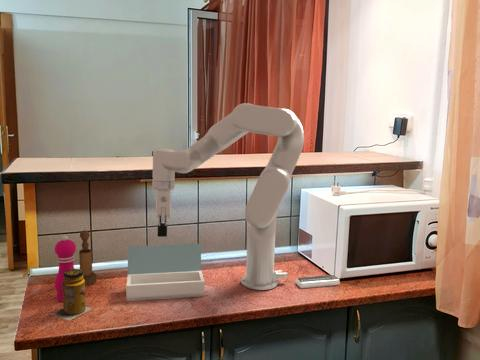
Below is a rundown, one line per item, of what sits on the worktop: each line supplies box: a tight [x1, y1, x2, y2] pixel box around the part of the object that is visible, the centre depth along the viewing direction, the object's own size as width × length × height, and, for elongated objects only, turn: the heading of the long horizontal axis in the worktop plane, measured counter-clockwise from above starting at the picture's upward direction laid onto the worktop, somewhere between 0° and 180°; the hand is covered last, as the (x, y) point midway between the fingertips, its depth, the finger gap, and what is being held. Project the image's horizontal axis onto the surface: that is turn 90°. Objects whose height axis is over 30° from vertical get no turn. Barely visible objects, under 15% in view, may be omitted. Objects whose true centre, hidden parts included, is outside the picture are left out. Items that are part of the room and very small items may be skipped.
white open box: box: [125, 270, 206, 302], centre depth 136 cm, size 24×9×5 cm, turn 102°
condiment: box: [50, 268, 93, 322], centre depth 121 cm, size 7×8×12 cm
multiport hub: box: [295, 274, 340, 289], centre depth 146 cm, size 4×14×2 cm, turn 105°
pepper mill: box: [53, 234, 77, 303], centre depth 129 cm, size 7×7×20 cm
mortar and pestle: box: [78, 229, 97, 287], centre depth 141 cm, size 7×6×18 cm
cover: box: [127, 243, 202, 275], centre depth 141 cm, size 24×9×1 cm
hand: (162, 235), depth 148 cm, fingers closed
